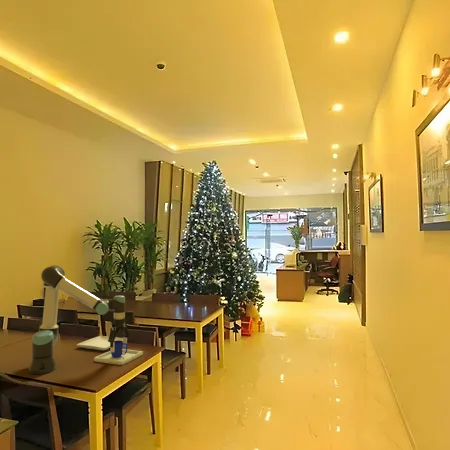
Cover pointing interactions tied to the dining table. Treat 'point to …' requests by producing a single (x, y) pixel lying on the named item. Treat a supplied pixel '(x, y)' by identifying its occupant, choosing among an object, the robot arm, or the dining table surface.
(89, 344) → the square plate
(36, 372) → the robot arm
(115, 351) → the mug
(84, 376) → the dining table surface
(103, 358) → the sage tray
